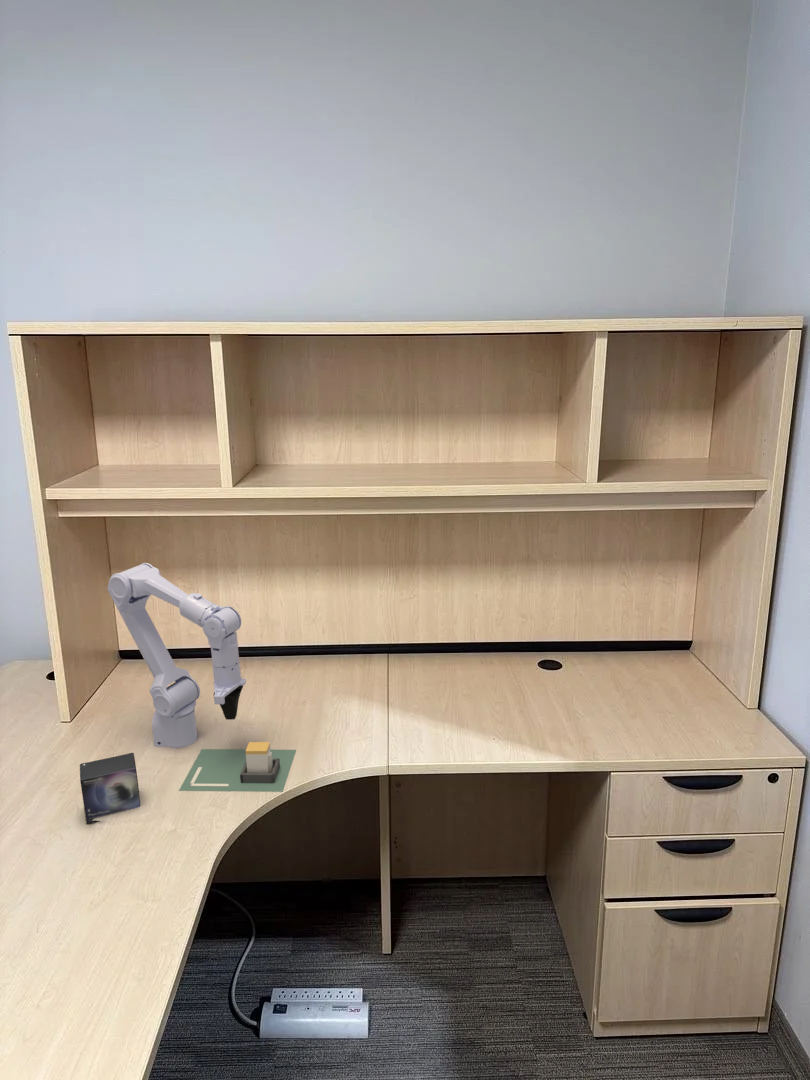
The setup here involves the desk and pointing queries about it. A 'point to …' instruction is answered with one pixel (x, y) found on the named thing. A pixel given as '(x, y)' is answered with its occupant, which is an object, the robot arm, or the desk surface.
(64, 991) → the desk surface
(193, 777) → the board
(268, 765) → the plug
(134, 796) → the small box
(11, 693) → the desk surface
